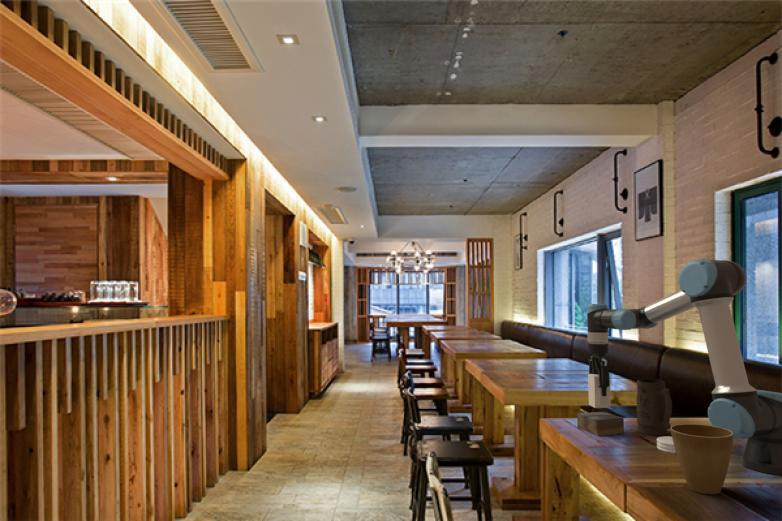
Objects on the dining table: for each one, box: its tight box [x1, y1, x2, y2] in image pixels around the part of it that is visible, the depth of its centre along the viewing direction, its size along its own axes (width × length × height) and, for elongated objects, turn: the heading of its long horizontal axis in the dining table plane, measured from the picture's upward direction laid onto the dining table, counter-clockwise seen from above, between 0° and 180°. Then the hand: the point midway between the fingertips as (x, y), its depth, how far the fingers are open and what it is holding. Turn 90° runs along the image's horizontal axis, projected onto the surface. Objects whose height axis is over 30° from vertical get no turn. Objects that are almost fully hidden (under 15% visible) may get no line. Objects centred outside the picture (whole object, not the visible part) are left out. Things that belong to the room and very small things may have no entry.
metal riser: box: [576, 411, 625, 437], centre depth 208 cm, size 12×12×6 cm
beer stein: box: [635, 378, 673, 436], centre depth 205 cm, size 15×11×20 cm
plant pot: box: [669, 423, 734, 495], centre depth 146 cm, size 15×15×16 cm
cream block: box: [587, 373, 611, 409], centre depth 209 cm, size 6×6×12 cm
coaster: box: [656, 435, 676, 454], centre depth 183 cm, size 10×10×4 cm
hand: (599, 402), depth 209 cm, fingers closed on cream block, 6 cm apart
